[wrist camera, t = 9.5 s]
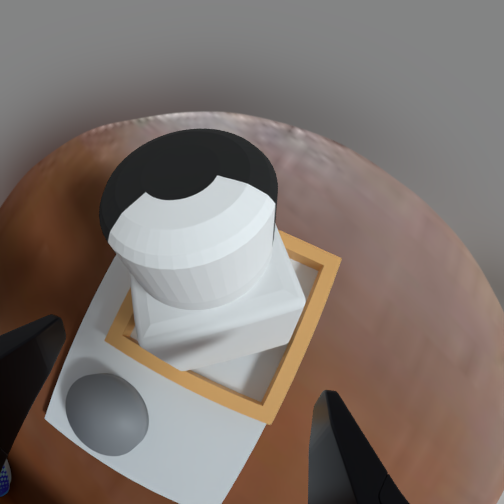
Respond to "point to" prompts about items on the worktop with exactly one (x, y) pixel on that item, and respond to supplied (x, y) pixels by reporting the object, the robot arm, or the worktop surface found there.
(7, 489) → the beer can
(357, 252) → the worktop surface
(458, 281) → the worktop surface
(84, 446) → the plate with orange frame
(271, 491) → the worktop surface
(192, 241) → the medicine bottle
